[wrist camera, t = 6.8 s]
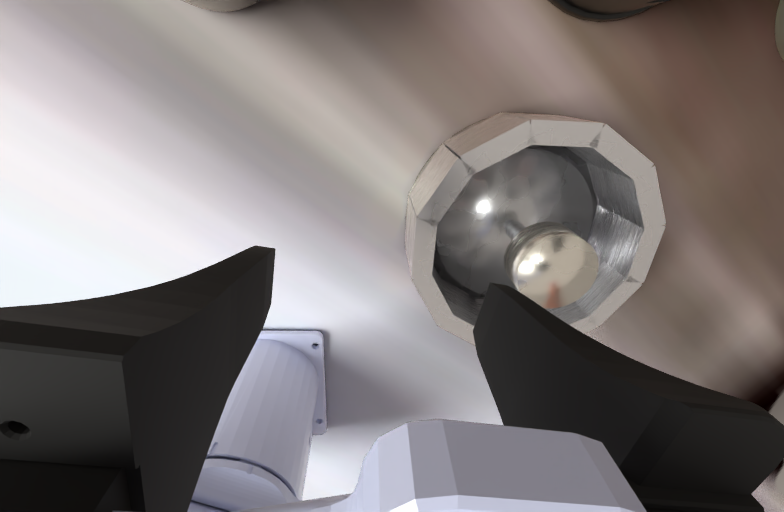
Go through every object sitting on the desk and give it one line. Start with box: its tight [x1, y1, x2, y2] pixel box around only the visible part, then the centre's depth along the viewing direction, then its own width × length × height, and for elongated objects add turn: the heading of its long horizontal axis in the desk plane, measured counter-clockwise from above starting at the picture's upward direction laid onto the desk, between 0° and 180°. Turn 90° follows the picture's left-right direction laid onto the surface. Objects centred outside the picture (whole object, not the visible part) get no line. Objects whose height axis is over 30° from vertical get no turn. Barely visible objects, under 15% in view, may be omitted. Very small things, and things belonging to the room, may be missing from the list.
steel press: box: [405, 112, 666, 361], centre depth 21 cm, size 15×12×5 cm
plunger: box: [436, 147, 599, 309], centre depth 18 cm, size 9×9×6 cm
